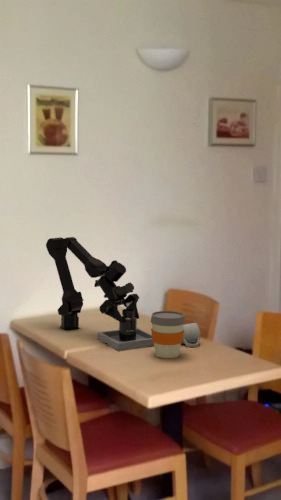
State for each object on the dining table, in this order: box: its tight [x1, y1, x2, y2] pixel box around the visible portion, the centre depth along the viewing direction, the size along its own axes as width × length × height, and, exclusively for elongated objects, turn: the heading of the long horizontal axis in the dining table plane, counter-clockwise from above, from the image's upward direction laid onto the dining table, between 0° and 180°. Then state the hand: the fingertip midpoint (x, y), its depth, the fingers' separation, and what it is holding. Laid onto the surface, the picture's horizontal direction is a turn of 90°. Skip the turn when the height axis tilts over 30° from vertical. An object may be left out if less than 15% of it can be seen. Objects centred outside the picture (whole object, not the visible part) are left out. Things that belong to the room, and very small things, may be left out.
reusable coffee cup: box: [150, 310, 186, 359], centre depth 234 cm, size 13×13×15 cm
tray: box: [96, 327, 154, 352], centre depth 251 cm, size 18×18×3 cm
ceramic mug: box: [181, 322, 201, 348], centre depth 249 cm, size 11×8×8 cm
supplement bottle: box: [118, 308, 138, 342], centre depth 250 cm, size 7×7×12 cm
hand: (131, 320), depth 249 cm, fingers open, 9 cm apart
